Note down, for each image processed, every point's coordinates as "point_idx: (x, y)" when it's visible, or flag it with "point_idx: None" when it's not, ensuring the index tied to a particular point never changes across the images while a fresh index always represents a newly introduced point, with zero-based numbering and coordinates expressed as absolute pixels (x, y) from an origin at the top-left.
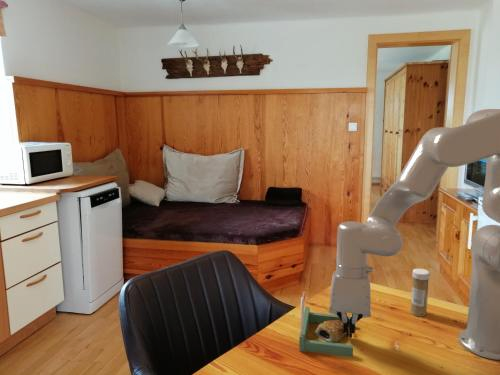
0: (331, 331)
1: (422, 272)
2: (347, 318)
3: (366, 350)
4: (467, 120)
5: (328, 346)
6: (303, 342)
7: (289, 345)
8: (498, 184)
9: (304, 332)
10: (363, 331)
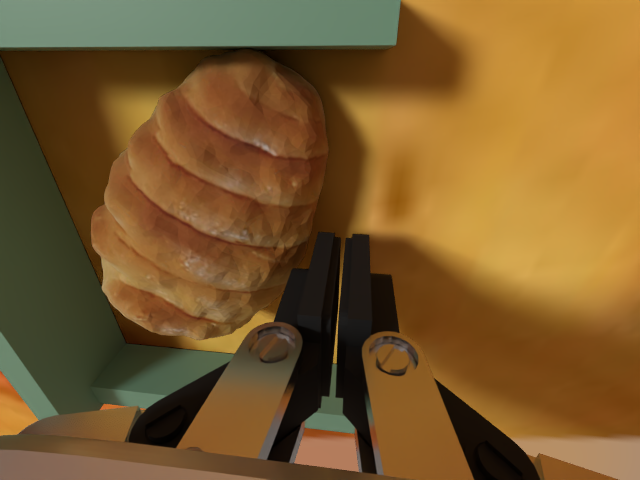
0: (207, 338)
1: None
2: (307, 399)
3: (441, 335)
4: None
5: None
6: (97, 407)
7: None
8: None
9: (51, 407)
10: (488, 115)
